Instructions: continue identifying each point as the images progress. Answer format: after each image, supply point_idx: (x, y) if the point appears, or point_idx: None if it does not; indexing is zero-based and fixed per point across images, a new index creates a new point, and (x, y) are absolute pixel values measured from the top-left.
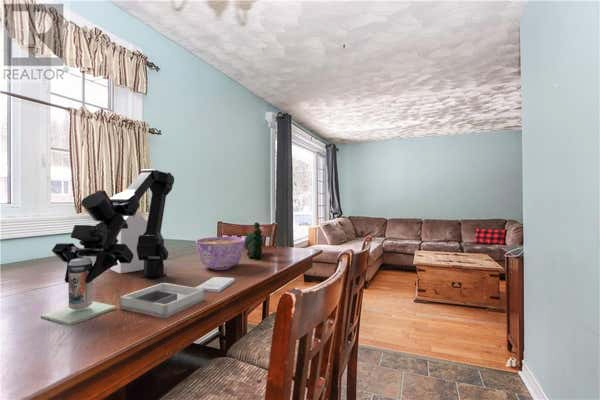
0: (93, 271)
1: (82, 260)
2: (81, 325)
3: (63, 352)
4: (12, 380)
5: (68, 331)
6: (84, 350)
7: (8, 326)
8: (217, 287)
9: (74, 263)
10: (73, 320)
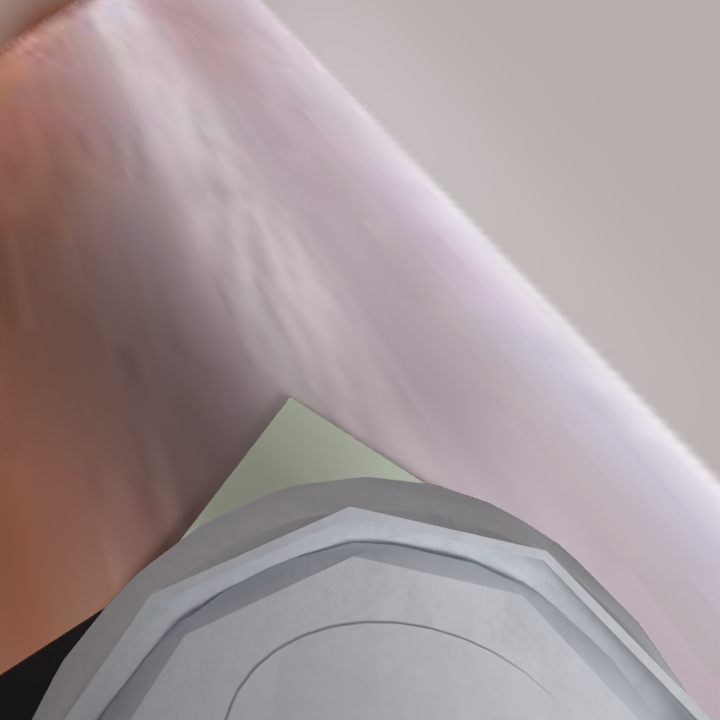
0: (20, 665)
1: (178, 585)
2: (212, 393)
3: (172, 125)
4: (253, 12)
5: (253, 320)
6: (88, 124)
7: (683, 461)
8: None
9: (415, 507)
10: (282, 435)
